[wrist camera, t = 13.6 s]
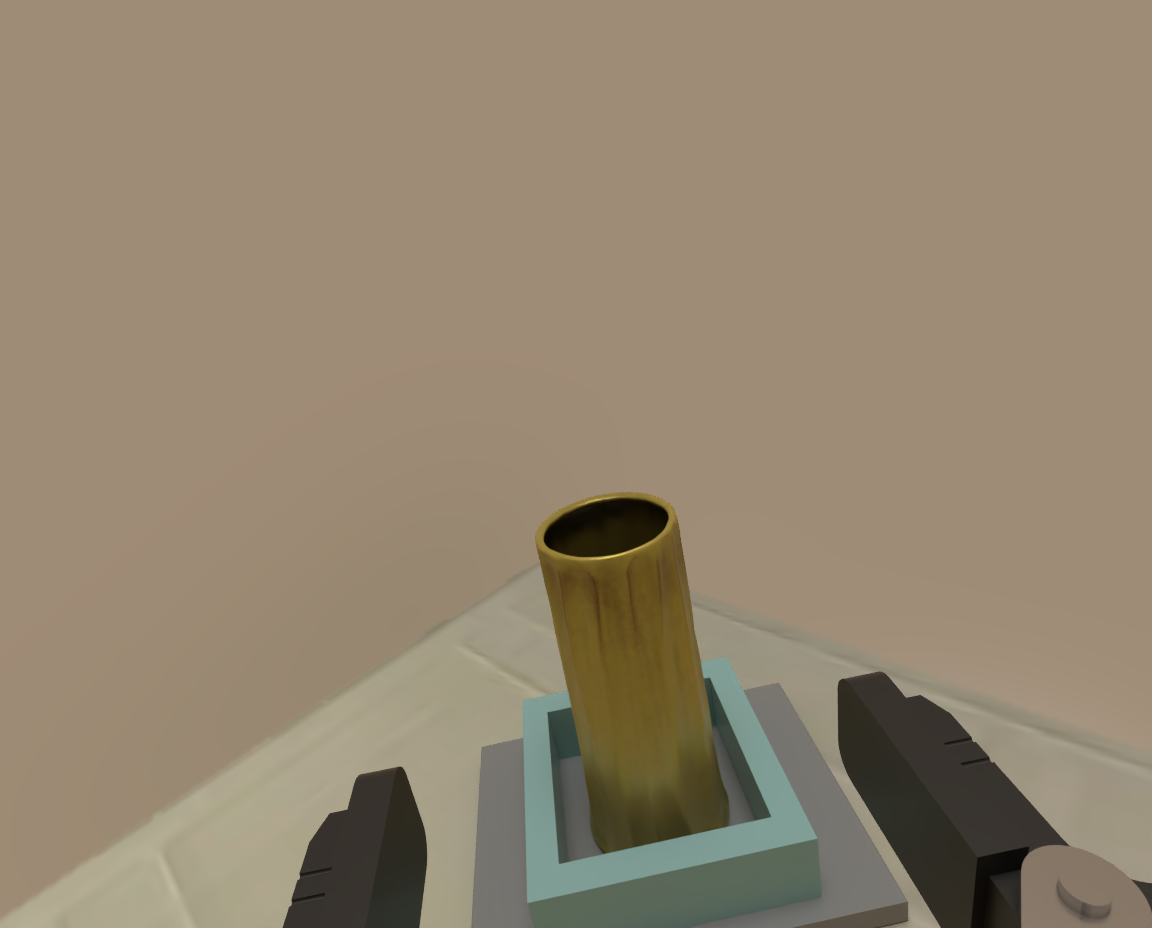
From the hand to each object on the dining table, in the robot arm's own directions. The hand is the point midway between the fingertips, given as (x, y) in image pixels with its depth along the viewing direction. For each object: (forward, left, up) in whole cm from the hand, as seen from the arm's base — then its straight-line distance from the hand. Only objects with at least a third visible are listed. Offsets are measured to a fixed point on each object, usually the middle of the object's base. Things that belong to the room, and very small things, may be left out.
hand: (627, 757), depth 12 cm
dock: (+1, +12, -16) cm, 20 cm away
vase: (+1, +12, -16) cm, 20 cm away
